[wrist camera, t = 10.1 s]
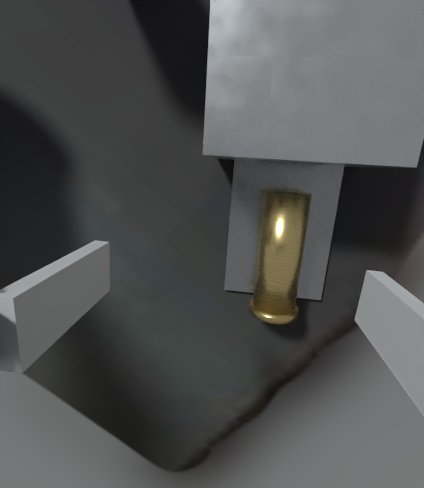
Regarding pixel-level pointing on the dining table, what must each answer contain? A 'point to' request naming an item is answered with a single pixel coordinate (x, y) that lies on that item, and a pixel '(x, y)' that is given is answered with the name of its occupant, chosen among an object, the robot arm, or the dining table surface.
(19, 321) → the robot arm
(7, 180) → the dining table surface
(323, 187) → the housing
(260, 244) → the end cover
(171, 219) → the dining table surface
